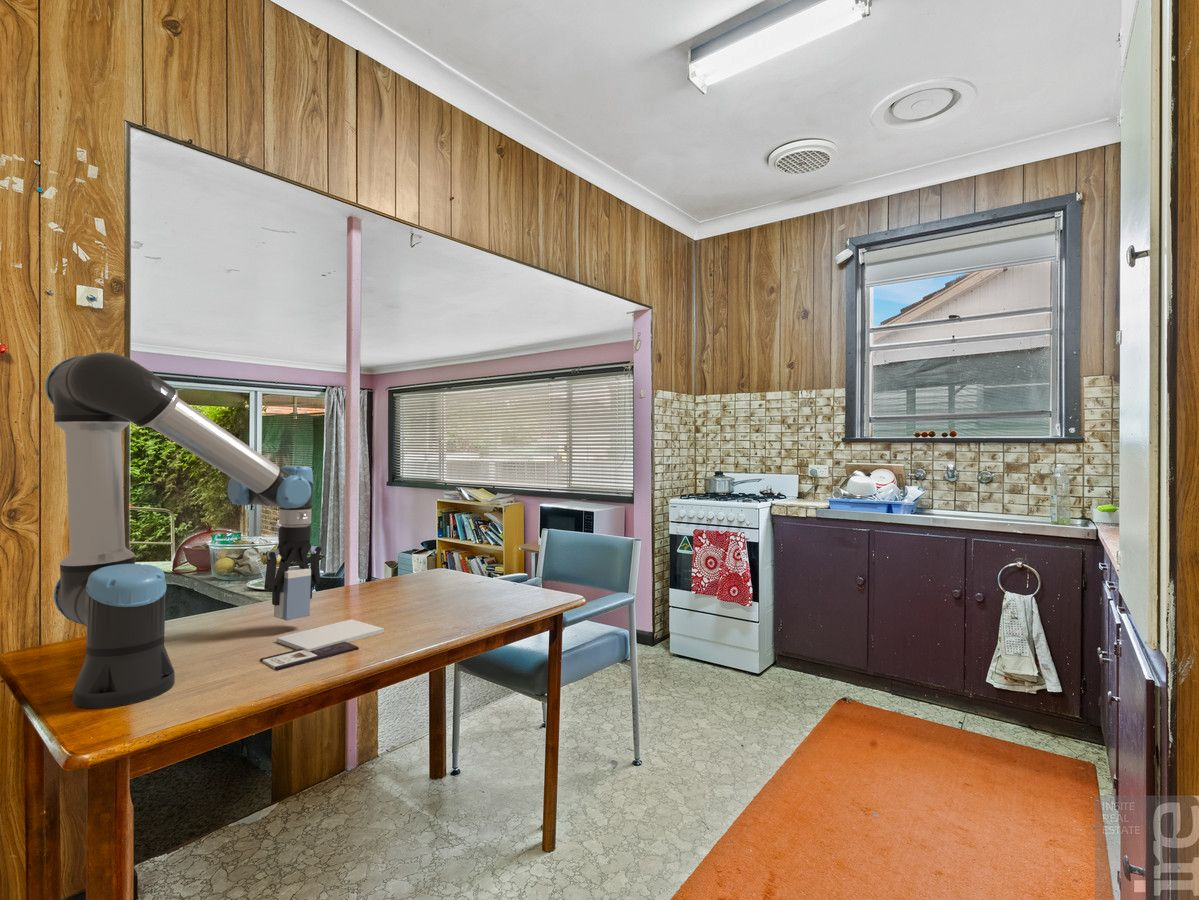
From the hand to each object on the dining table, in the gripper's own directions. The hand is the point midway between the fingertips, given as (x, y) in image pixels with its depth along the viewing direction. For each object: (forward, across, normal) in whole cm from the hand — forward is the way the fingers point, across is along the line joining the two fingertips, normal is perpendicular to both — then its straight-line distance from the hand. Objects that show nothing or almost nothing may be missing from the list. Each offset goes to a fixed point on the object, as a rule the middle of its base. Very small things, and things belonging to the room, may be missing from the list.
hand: (291, 614), depth 153 cm
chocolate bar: (+5, -8, -22) cm, 24 cm away
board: (+4, +2, -14) cm, 15 cm away
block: (0, 0, 0) cm, 0 cm away
